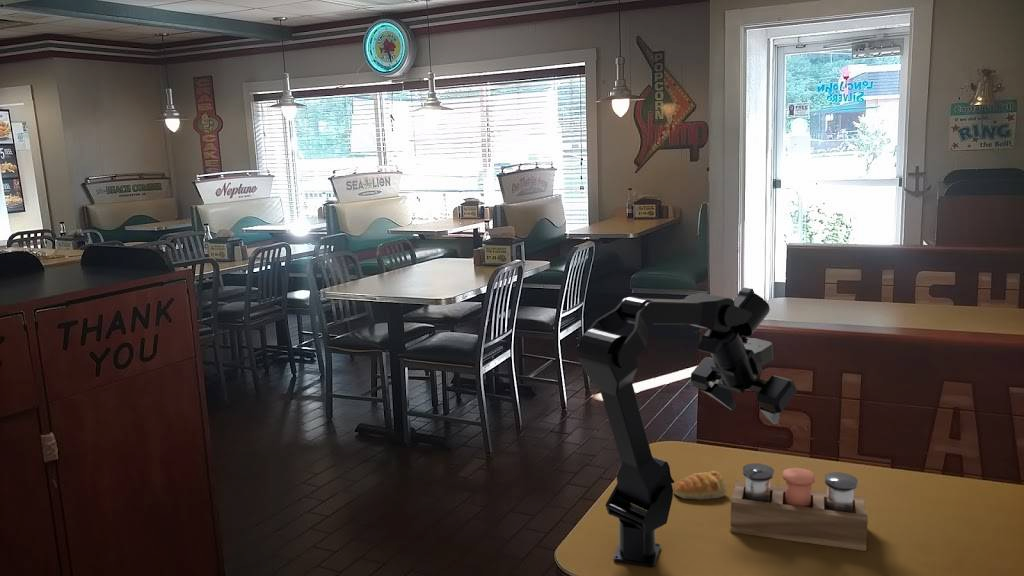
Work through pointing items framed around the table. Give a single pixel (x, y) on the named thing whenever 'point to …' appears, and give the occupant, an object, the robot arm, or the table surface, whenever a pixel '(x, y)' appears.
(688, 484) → the pastry
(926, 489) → the table surface
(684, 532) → the table surface
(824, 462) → the table surface
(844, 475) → the plunger
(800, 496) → the pink stopper
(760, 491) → the plunger
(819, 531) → the brown wooden rack
